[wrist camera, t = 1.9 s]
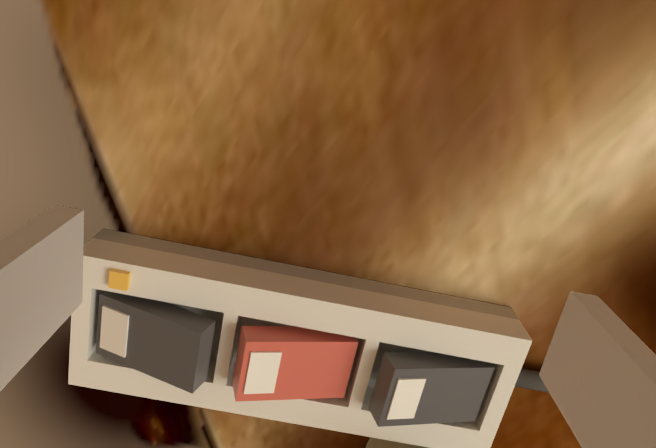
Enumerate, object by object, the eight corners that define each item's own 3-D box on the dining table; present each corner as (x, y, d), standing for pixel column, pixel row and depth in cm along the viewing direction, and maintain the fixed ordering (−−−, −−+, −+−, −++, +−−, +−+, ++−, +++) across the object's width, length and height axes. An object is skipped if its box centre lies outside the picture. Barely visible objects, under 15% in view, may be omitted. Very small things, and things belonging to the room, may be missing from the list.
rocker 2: (368, 407, 37) (378, 428, 35) (384, 352, 35) (396, 370, 33) (462, 403, 39) (476, 422, 38) (480, 351, 38) (496, 368, 36)
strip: (95, 347, 41) (65, 387, 36) (103, 228, 38) (71, 256, 33) (566, 432, 43) (594, 480, 38) (614, 327, 40) (650, 366, 35)
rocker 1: (113, 340, 38) (94, 354, 36) (118, 283, 36) (97, 294, 35) (207, 379, 36) (191, 395, 34) (215, 320, 34) (199, 334, 33)
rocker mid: (232, 383, 36) (236, 403, 34) (242, 325, 35) (246, 343, 33) (336, 380, 39) (344, 399, 37) (349, 327, 37) (359, 343, 35)
